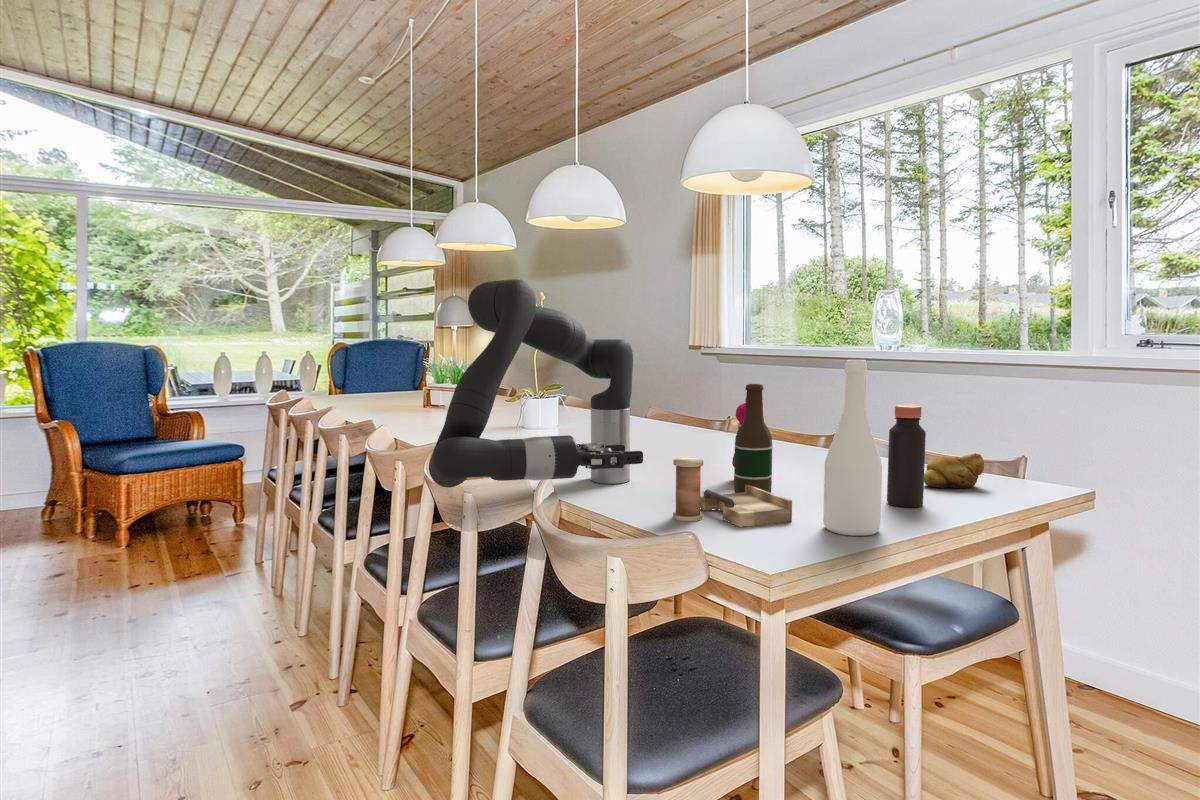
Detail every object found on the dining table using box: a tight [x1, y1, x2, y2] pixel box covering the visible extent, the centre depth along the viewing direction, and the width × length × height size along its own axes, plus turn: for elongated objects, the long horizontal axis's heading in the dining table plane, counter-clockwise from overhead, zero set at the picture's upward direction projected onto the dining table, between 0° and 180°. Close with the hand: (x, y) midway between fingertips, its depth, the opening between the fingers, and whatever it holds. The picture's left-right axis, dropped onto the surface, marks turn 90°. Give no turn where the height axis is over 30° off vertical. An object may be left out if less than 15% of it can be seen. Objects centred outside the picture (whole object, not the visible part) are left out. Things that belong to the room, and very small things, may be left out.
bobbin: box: [672, 457, 704, 522], centre depth 138 cm, size 6×6×11 cm
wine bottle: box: [822, 359, 883, 537], centre depth 129 cm, size 10×10×30 cm
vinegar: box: [886, 404, 927, 509], centre depth 148 cm, size 7×7×20 cm
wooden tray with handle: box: [700, 485, 793, 528], centre depth 141 cm, size 15×11×4 cm
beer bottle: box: [733, 383, 773, 493], centre depth 155 cm, size 8×8×24 cm
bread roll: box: [924, 453, 985, 489], centre depth 167 cm, size 13×10×8 cm
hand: (632, 453), depth 134 cm, fingers open, 8 cm apart
